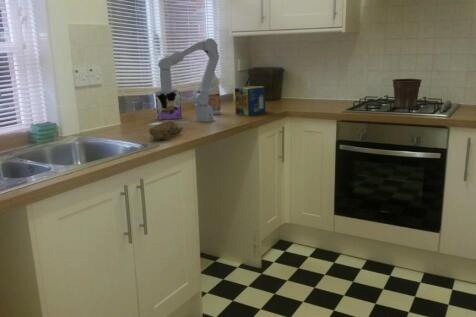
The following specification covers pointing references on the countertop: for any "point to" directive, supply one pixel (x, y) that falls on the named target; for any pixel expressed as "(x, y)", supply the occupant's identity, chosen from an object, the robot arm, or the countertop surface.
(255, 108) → the protein box
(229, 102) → the countertop surface
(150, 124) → the cream pad
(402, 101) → the plant pot
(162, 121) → the terracotta pad
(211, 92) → the fruit juice
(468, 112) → the countertop surface
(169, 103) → the oak block
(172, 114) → the candy box
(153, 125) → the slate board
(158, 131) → the brown rounded lump
